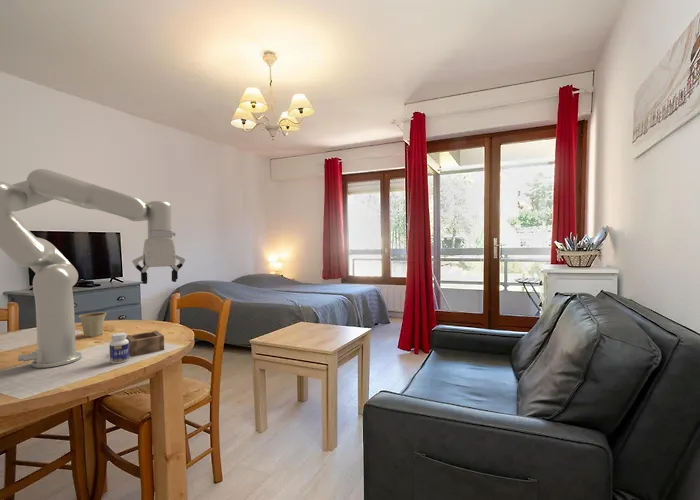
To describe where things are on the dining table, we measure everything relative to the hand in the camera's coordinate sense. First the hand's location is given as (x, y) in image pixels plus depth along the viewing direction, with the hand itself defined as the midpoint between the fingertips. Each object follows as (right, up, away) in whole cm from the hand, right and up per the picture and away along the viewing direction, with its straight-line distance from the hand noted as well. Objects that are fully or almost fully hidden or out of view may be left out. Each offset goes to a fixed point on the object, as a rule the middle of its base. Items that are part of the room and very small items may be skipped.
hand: (159, 282), depth 129 cm
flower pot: (-38, -24, +19) cm, 49 cm away
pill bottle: (-6, -25, -14) cm, 29 cm away
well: (-4, -24, -2) cm, 24 cm away
